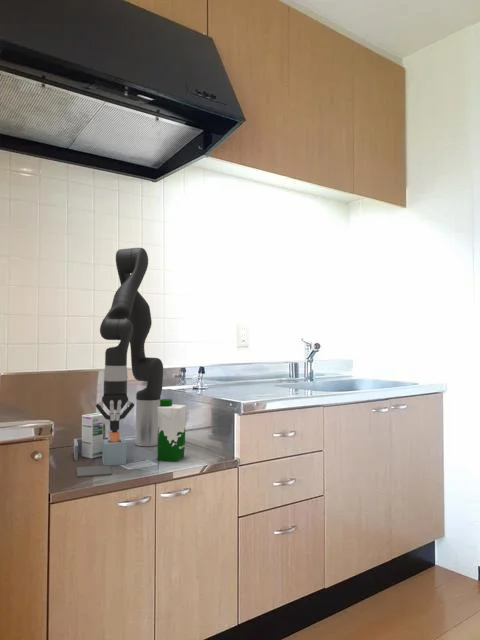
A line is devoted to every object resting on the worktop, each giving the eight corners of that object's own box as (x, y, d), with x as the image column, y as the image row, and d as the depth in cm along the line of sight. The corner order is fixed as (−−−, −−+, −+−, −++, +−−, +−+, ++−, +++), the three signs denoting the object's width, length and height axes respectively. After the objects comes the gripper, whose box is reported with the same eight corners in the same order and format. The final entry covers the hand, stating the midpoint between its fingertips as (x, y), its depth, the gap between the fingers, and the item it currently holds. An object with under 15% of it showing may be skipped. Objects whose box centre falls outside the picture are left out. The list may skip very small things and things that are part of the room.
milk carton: (162, 455, 183) (163, 397, 184) (187, 456, 182) (188, 399, 182) (153, 461, 175) (154, 401, 175) (179, 462, 173) (180, 402, 173)
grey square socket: (123, 459, 176) (124, 438, 177) (126, 464, 170) (126, 442, 170) (102, 460, 174) (102, 439, 174) (104, 465, 167) (104, 443, 168)
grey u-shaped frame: (109, 450, 188) (110, 437, 188) (113, 458, 177) (113, 443, 178) (73, 453, 184) (73, 438, 184) (74, 460, 173) (74, 445, 173)
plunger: (118, 449, 174) (118, 430, 174) (119, 451, 171) (119, 432, 171) (109, 449, 173) (109, 431, 173) (110, 451, 170) (110, 433, 170)
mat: (109, 466, 167) (109, 465, 167) (112, 474, 157) (112, 473, 157) (76, 468, 163) (76, 467, 163) (77, 477, 154) (77, 475, 154)
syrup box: (91, 458, 176) (92, 415, 177) (80, 456, 180) (81, 414, 180) (105, 455, 181) (106, 413, 181) (94, 453, 184) (95, 412, 185)
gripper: (134, 378, 178) (133, 429, 178) (94, 378, 174) (92, 430, 173) (137, 379, 171) (136, 433, 171) (95, 380, 167) (94, 434, 166)
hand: (114, 431), depth 172 cm, fingers closed
